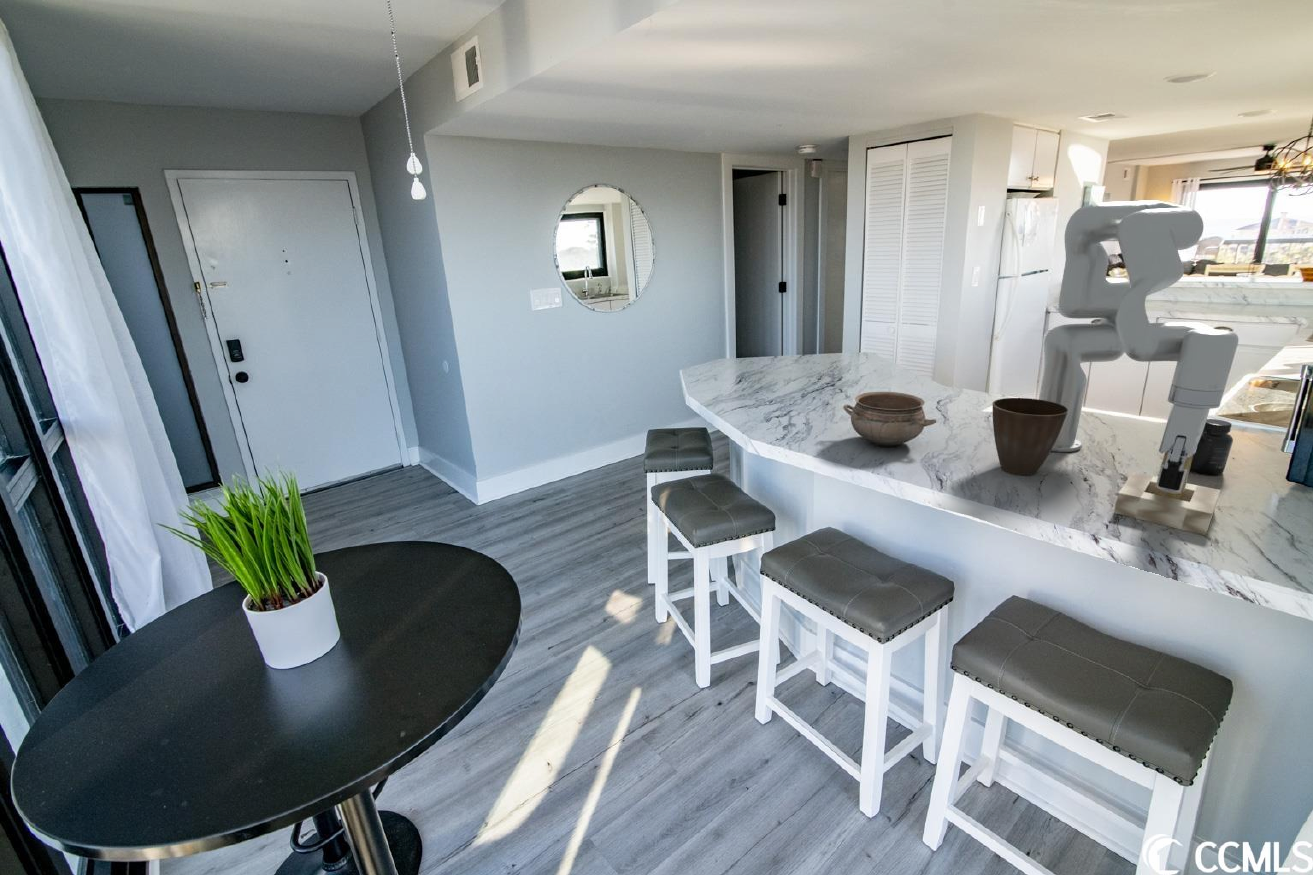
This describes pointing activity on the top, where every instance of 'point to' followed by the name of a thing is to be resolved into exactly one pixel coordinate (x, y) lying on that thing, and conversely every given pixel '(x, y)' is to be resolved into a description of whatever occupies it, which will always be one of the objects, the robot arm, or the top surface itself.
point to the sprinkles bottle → (1178, 493)
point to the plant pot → (1025, 432)
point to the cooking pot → (888, 417)
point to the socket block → (1167, 504)
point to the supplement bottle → (1212, 448)
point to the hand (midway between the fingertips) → (1170, 483)
